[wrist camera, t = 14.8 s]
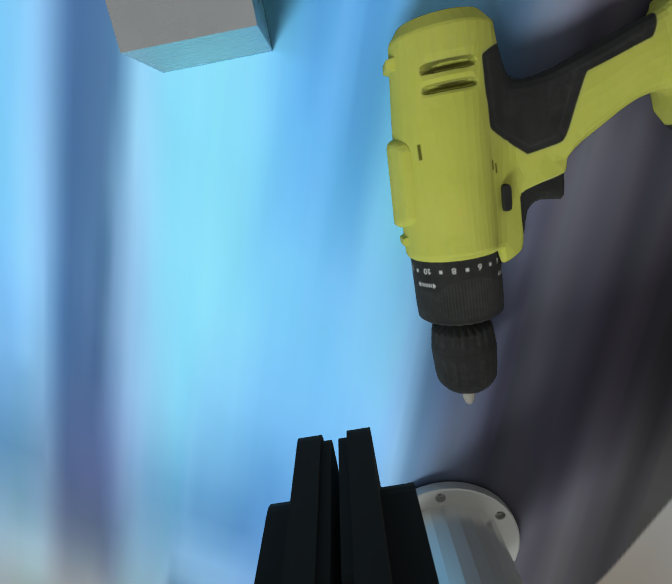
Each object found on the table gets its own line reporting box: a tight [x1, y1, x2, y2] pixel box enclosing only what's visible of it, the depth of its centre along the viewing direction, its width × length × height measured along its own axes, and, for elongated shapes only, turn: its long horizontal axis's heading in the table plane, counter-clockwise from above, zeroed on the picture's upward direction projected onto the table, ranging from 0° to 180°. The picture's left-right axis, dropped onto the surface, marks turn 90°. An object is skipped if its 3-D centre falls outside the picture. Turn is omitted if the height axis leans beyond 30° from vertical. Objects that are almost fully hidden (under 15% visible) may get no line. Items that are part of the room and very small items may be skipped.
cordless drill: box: [383, 0, 672, 404], centre depth 28 cm, size 7×25×25 cm
